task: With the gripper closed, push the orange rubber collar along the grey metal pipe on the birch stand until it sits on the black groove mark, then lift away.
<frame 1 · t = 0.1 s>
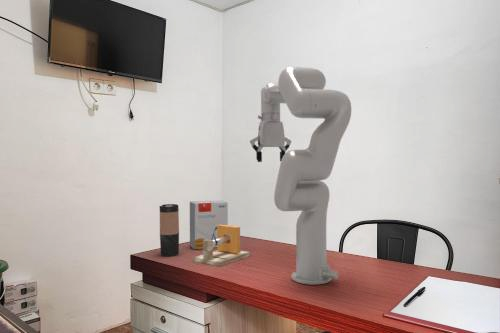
hand: (271, 161, 154), 37 cm above the table, tool pointing down, fingers open, 9 cm apart
pipe: (222, 240, 150), point 6 cm above the table
collar: (228, 238, 153), point 7 cm above the table, slide at 0.0 cm
pipe stand: (222, 258, 150), on the table
hard drive box: (208, 247, 170), on the table
travel mug: (169, 254, 157), on the table
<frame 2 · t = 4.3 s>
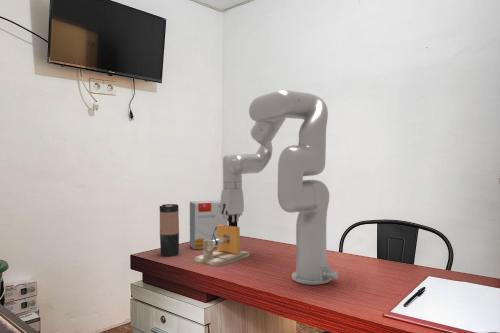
hand: (233, 231, 155), 9 cm above the table, tool pointing down, fingers closed
collar: (228, 238, 153), point 7 cm above the table, slide at 0.3 cm, touching gripper
everything else where it was.
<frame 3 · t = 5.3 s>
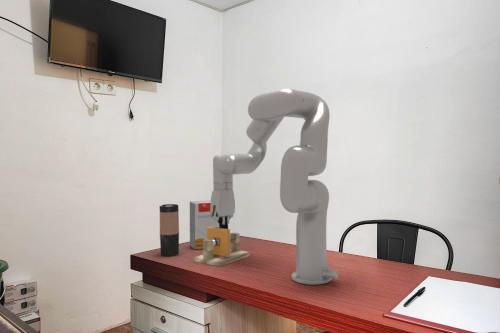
hand: (223, 233, 151), 9 cm above the table, tool pointing down, fingers closed
collar: (218, 241, 148), point 7 cm above the table, slide at 6.1 cm, touching gripper
everything else where it was.
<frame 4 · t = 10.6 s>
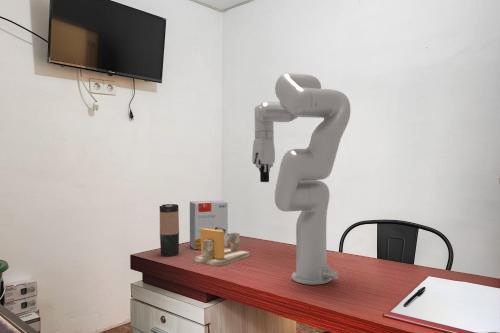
hand: (264, 181, 155), 29 cm above the table, tool pointing down, fingers closed
collar: (212, 243, 145), point 7 cm above the table, slide at 9.6 cm
everything else where it was.
at the end: collar slide at 9.6 cm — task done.
